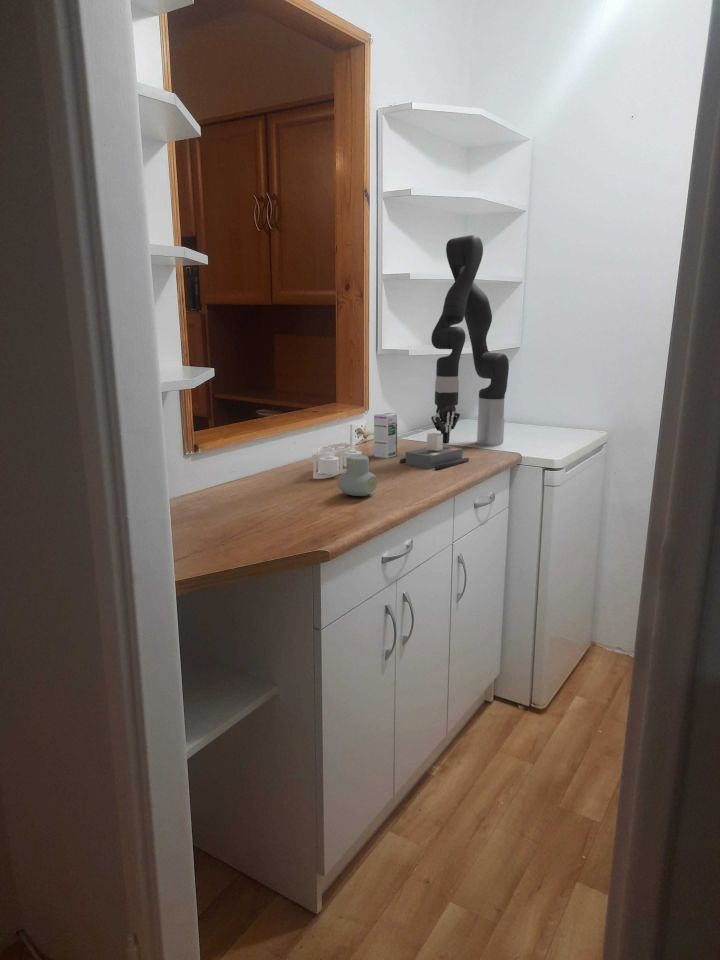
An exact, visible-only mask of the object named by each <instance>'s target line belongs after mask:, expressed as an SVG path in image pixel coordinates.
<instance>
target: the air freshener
mask: <svg viewBox="0 0 720 960" xmlns="http://www.w3.org/2000/svg"><path fill="white" fill-rule="evenodd" d="M369 462H370V459H369V456H367V455H363V454H362V455H352V456H348V457H347V467H346V468H347V472H345V473H343V474H340V476H339V477H338V480H337V487H338V490H340V491H341V492H342V493H344V494H345V495H347V496H352V497H365V496H366V497H367V496H369V495H370V494H372V493H373V492H375V490H376V489H377V486H378V482H379V481H378V478H377V476H376V475H375V474H374V473H372V472H370V467H369V466H370V463H369Z"/></svg>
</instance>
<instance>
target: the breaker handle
mask: <svg viewBox="0 0 720 960" xmlns="http://www.w3.org/2000/svg"><path fill="white" fill-rule="evenodd" d="M426 437H427V438H426V447H427V449H428V450H434V451H439V450H443V446H444V444H443V434H441V433H437V432H431V433H427V435H426Z"/></svg>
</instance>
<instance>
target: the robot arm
mask: <svg viewBox="0 0 720 960" xmlns="http://www.w3.org/2000/svg"><path fill="white" fill-rule="evenodd" d="M445 254H446V258H447V263H448V265H449V267H450V271H451V274H452V276H453V280H454V283H453V284H452V285H451V287H450V288H449V290H448V291H447V293H446V296H445V298H444V302H443V303H444V304H443V308H442V312H441V315H440V317H439V319H438V321H437V323H436V324H435V326H434V328H433V330H432V333H431V338H430V339H431V344H432V346H433V347H434V348H435V349H437V350H451V352H450V354H449V355H446V356H440V357H439V358H438V359H437V360H436V368H435V369H436V371H435V372H436V373H435V374H436V375H435V384H434V405H436V410H435V413H436V414H435V415H433V416H431V418H430V419H431V421H432V423H433V425H434V427H435V429H436V431H438V432H440V434H443V445H446V444H449V443H450V436H451V435H450V433H451V432H452V430H454V429H455V427H456V426H457V423H458V421H459V419H460V415H461V413H458V412H457V411H456V406H458V404H459V389H460V388H459V385H460V384H459V382H460V381H459V367H460V365H459V364H460V359H461V355H462V352H463V348H464V346H465V343H466V337H467V335H466V332H465V330H464V329H463V328H462V327H460V326H455V325H458V324H461V323H462V322H463V321H464V320H465V324H466V328H467V331H468V336H469V341H470V344H471V346H470V347H471V352H472V359H473V364H474V365H473V366H474V370H475V372H476V374H477V376H478V377H480V378H481V379H488V380H489V379H490V384H489V385H488V386H487V387H483V388H481V389H479V391H478V410H477V432H476V444H478V445H481V446H487V447H488V446H492V447H494V446H495V447H497V446H501V445H503V443H504V435H505V433H504V432H505V417H504V415H505V397H506V392H507V388H508V378H509V371H510V363H509V361H510V360H509V358H508V356H507V355H506V354H505V353H503V352H501V353H500V352H490V351H489V349H488V343H487V336H488V332H489V330H490V329H491V324H492V322H493V314H492V313H493V312H492V309H491V306H490V305H491V303H490V301H489V298H488V295H486V294H485V292H484V291H483V290H482V289H481V288H480V287H479V286H478V285H477V284H476V283H475V278H476V276H477V274H478V270H479V269H480V265H481V262H482V258H483V254H484V244H483V242H482V239H481V238H480V237H479V235H477V234H470V235H464V236H459V237H458V236H457V237H454V238H450V239H449V240H448V241H447V243H446V247H445Z"/></svg>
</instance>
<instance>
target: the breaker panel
mask: <svg viewBox="0 0 720 960" xmlns="http://www.w3.org/2000/svg"><path fill="white" fill-rule="evenodd" d="M463 451H464V450H463V448H460V447H454V446H448V445H443V450H439V451H434V450H428V449H427V446H425V447H423V448H419V449H413V450H409V451H405V458H406V462H405V465H408V466H412V467H418V468H423V469H427V470H428V469H429V470H432V469H435V466H436V465H440V464H444V463H448V462H451V461H455V460H459V459H463V458H464V457H463V454H464V452H463Z"/></svg>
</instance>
